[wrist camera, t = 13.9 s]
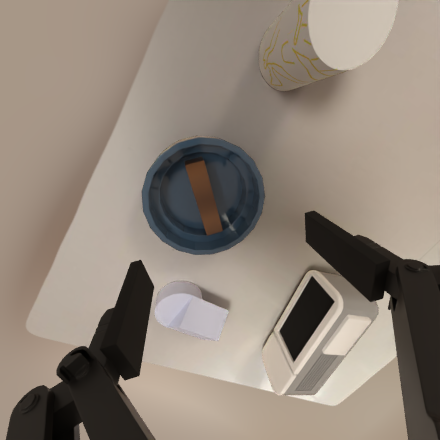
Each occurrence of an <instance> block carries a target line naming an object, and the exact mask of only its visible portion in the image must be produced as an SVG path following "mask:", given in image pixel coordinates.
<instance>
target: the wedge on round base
mask: <svg viewBox="0 0 440 440" xmlns="http://www.w3.org/2000/svg"><path fill="white" fill-rule="evenodd" d="M228 312H229V311H228V310H226V309H223V308H221V307H219V306H216V305H214V304H212V303H209V302H207V301H205V300H202V293H201V291H200V289H199V288H198V287H197V286H196V285H195V284H193V283H191V282H187V281H175V282H172V283H169V284H167V285H165V286H164V287H163V288H162V289H161V290H160V291H159V293H158V295H157V300H156V307H155V317H156V319H157V321H158V322H159V323H160V324H161V325H163V326H165V327H167V328H170V329H173V330H176V331H179V332H182V333H185V334H188V335H191V336H194V337H197V338H200V339H203V340H213V341H218V340H219V338H220V335H221V332H222V329H223V326H224V323H225V321H226V318H227V315H228Z"/></svg>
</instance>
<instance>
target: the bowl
mask: <svg viewBox="0 0 440 440" xmlns="http://www.w3.org/2000/svg"><path fill="white" fill-rule="evenodd" d="M197 157H202V158H203V160H204V162H205V166H206V169H207V173H208V177H209V180H210V184H211V188H212V192H213V195H214V199H215V203H216V206H217V210H218V214H219V218H220V221H221V225H222V229H223V231H221V232H218V233H215V234H211V235H208V236H207V234H206V231H205V228H204V225H203V222H202V219H201V215H200V212H199V209H198V206H197V203H196V199H195V196H194V193H193V190H192V187H191V183H190V180H189V177H188V174H187V171H186V168H185V161H186V160H190V159H194V158H197ZM264 198H265V192H264V185H263V178H262V176H261V174H260V172H259V170H258V168H257V166H256V164H255V162H254V161H253V160H252V159H251V158H250V157H249V156H248V155H247V154H246V153H245V152H244V151H243V150H242V149H241V148H240V147H238V146H236V145H233V144H231V143H229V142H227V141H225V140H222V139H219V138H216V137H208V136H193V137H189V138H185V139H181V140H178V141H177V142H175V143H174V144H172V145H171V146H169V147H168V148H166V149H165V150H164V151H163V152H162V153H161V154H160V155H159V157H158V158H157V159H156V161H155V162H154V164H153V165H152V166H151V168H150V169H149V170H148V172H147V175H146V178H145V182H144V185H143V189H142V203H143V212H144V214H145V217H146V219H147V221H148V224H149V226H150V228H151V229H152V230H153V231H154V232H155V234H156V235H157V236H158V237H159V238H160V239H161V240H162V241H163V242H165V243H166V244H168V245H170V246H171V247H173V248H175V249H176V250H178V251H182V252H186V253H190V254H195V255H203V254H214V253H218V252H221V251H224V250H228V249H230V248H231V247H233V246H235V245H236V244H238V243H239V242H241V241H242V240H244V238H245V237H246V236H247V235H248V234H249V233H250V232H251V231H252V230H253V229H254V227H255V225H256V223H257V222H258V220H259V218H260V216H261V214H262V209H263V204H264Z"/></svg>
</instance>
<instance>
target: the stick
mask: <svg viewBox="0 0 440 440" xmlns="http://www.w3.org/2000/svg"><path fill="white" fill-rule="evenodd" d="M185 168H186V171H187V174H188V177H189V180H190V183H191V187H192V190H193V193H194V196H195V199H196V203H197V206H198V209H199V212H200V215H201V219H202V222H203V225H204V228H205V231H206V234H207V236H208V235H211V234H215V233H218V232H221V231H223V229H222V225H221V221H220V218H219V214H218V210H217V206H216V203H215V199H214V195H213V192H212V188H211V184H210V180H209V177H208V173H207V169H206V166H205V162H204V160H203V158H202V157H197V158H194V159H190V160H186V161H185Z"/></svg>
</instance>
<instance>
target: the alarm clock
mask: <svg viewBox="0 0 440 440" xmlns="http://www.w3.org/2000/svg"><path fill="white" fill-rule="evenodd" d="M377 315H378V305H377V302H376V301H373V302H369V301H368V300H367V299H366V298H365V297H364V296H363V295H362V294H361V293H360V292H359V291H358V290H357V289H356V288H355V287H353V286H352V285H351V284H350V283H349V282H348V281H347V280H346V279H345V278H344V277H343V276H341V275H335V274H330V273H325V272H320V271H315V270H310V271H308V272H307V273H306V275H305V276H304V278H303V280H302V282H301V283H300V285H299V287H298V288H297V290H296V292H295V294H294V295H293V297H292V299H291V301H290V302H289V304H288V306H287V308H286V309H285V311H284V313H283V315H282V316H281V318H280V320H279V321H278V323H277V325H276V327H275V328H274V332H272V334H271V335H270V337H269V339H268V341H267V342H266V344H265V346H264V348H263V350H262V359H263V363H264V366H265V369H266V372H267V375H268V378H269V380H270V383H271V386H272V388H273V391H274V392H275V393H276V394H277V395H315V394H316V393H317V392H318V391H319V390H320V388H321V387H322V386H323V384H324V383H325V382H326V381H327V379H328V378H329V377H330V376H331V374H332V373H333V372H334V371H335V369H336V368H337V367H338V366H339V364H340V363H341V362H342V361H343V359H344V358H345V357H346V355H347V354H348V353H349V352H350V350H351V349H352V348H353V347H354V345H355V344H356V343H357V342H358V340H359V339H360V338H361V337H362V335H363V334H364V333H365V332H366V330H367V329H368V328H369V327H370V325H371V324H372V323H373V321H374V320H375V319H376V318H377Z"/></svg>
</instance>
